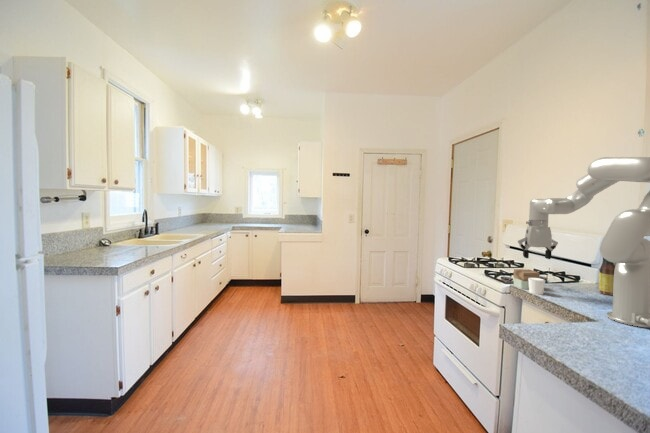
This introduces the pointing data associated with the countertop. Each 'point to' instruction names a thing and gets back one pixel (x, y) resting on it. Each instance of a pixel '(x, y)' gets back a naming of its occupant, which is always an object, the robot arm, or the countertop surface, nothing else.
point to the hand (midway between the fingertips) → (536, 258)
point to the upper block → (525, 274)
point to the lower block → (521, 284)
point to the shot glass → (536, 285)
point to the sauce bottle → (606, 277)
